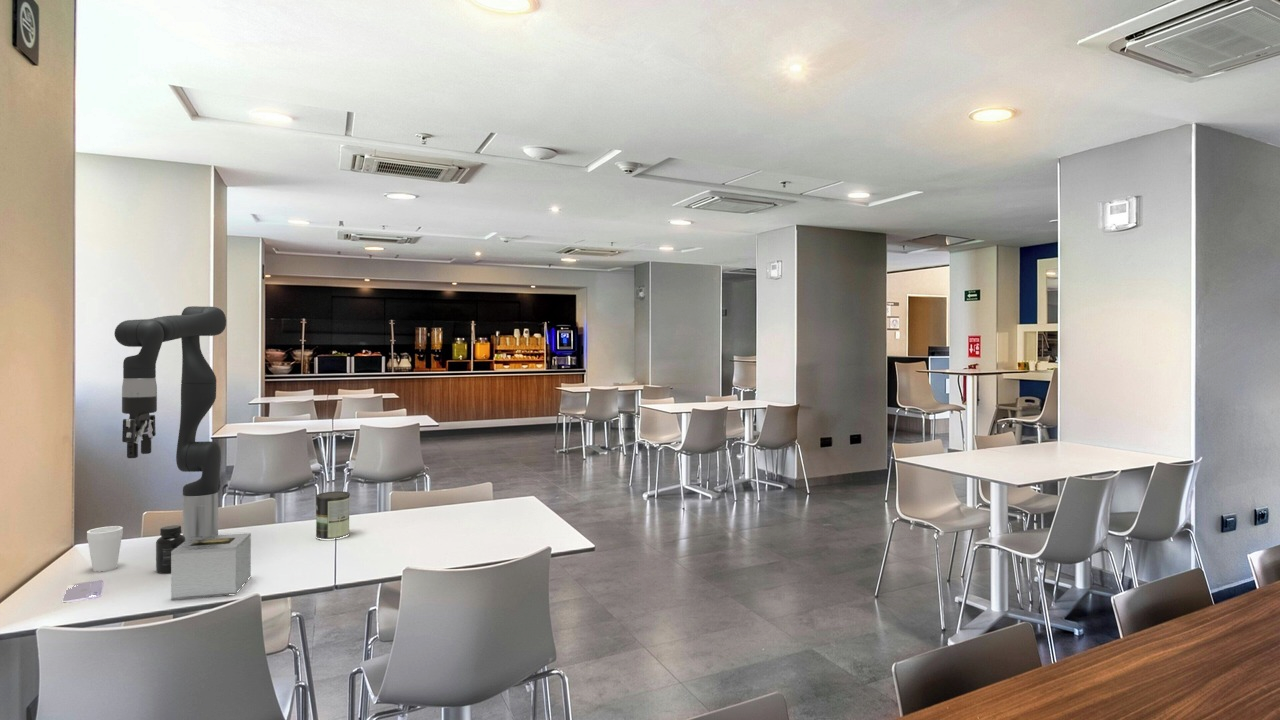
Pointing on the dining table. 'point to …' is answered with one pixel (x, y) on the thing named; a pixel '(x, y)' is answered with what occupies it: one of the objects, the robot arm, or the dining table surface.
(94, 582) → the mobile phone
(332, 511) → the coffee can
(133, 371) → the robot arm
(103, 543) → the foam cup
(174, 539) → the supplement bottle
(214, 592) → the coin box
